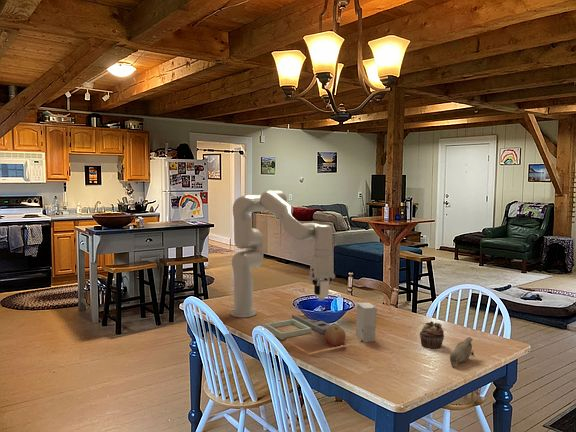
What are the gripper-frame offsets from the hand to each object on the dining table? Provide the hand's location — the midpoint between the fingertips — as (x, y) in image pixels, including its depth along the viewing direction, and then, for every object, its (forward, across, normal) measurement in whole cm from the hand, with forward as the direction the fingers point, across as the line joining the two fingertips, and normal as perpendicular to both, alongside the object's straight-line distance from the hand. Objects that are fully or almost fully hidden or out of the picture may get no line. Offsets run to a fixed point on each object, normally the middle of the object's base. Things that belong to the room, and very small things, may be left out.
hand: (321, 293), depth 211 cm
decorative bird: (+16, -27, +55) cm, 63 cm away
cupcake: (+17, -29, +38) cm, 51 cm away
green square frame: (+18, +14, -5) cm, 23 cm away
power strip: (+18, 0, -9) cm, 20 cm away
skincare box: (+17, -11, +18) cm, 27 cm away
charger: (+3, 0, 0) cm, 3 cm away
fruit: (+17, +5, +18) cm, 25 cm away
